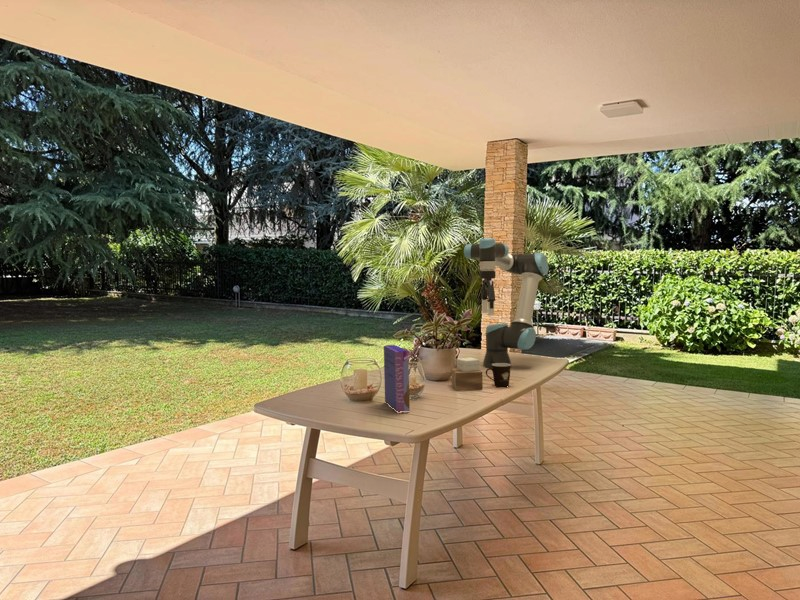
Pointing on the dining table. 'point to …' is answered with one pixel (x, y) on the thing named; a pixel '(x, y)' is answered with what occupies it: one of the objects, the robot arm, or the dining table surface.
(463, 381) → the walnut block
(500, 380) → the coffee mug
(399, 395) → the cereal box
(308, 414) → the dining table surface
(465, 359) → the small box
